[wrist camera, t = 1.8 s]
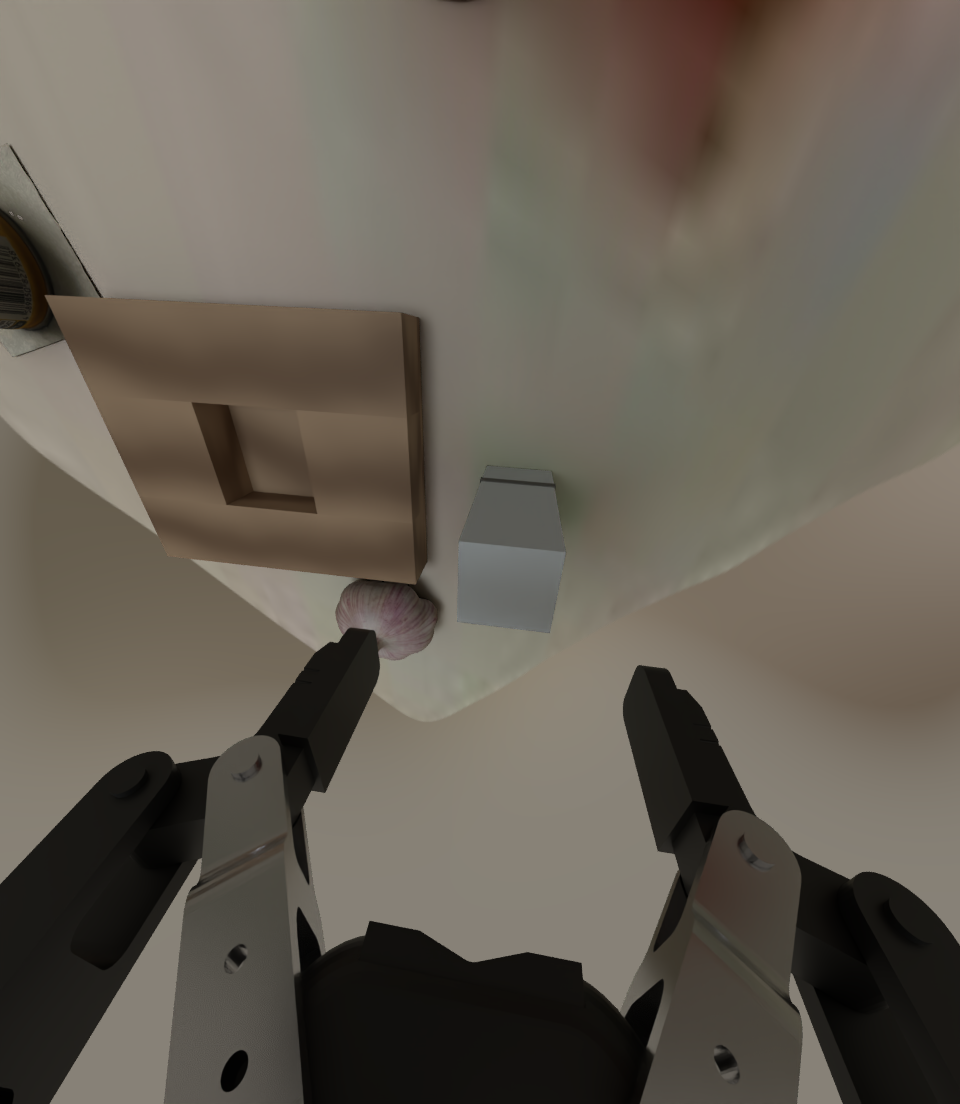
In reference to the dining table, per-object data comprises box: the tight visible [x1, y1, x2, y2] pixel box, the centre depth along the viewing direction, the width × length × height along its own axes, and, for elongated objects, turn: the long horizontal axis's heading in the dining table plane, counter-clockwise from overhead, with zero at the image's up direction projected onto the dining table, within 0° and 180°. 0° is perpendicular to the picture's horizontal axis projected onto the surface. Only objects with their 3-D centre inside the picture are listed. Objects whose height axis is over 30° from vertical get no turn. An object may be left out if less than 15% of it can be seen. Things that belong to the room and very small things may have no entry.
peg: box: [457, 466, 566, 633], centre depth 18 cm, size 4×4×10 cm
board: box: [45, 295, 427, 584], centre depth 21 cm, size 15×18×3 cm
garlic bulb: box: [336, 580, 438, 660], centre depth 25 cm, size 8×7×8 cm
